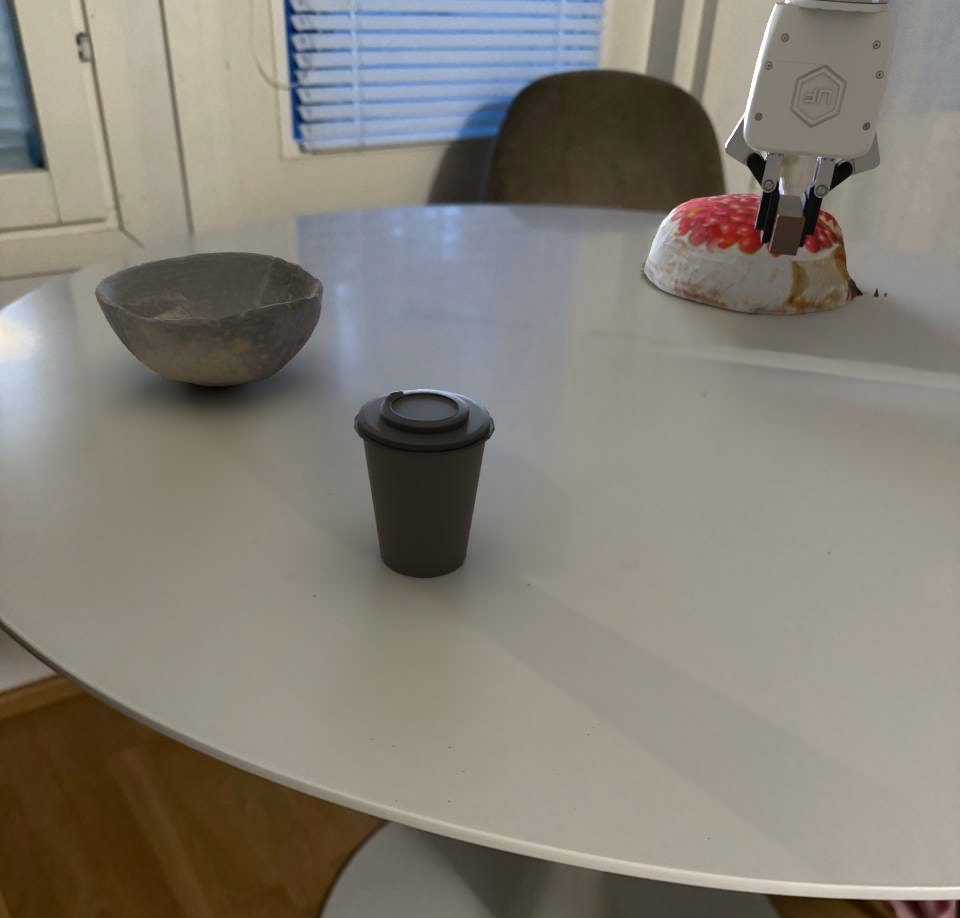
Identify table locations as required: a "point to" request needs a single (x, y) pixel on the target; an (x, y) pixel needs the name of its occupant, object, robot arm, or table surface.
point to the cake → (747, 260)
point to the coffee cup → (423, 475)
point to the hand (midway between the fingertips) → (781, 239)
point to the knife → (787, 223)
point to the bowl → (213, 315)
